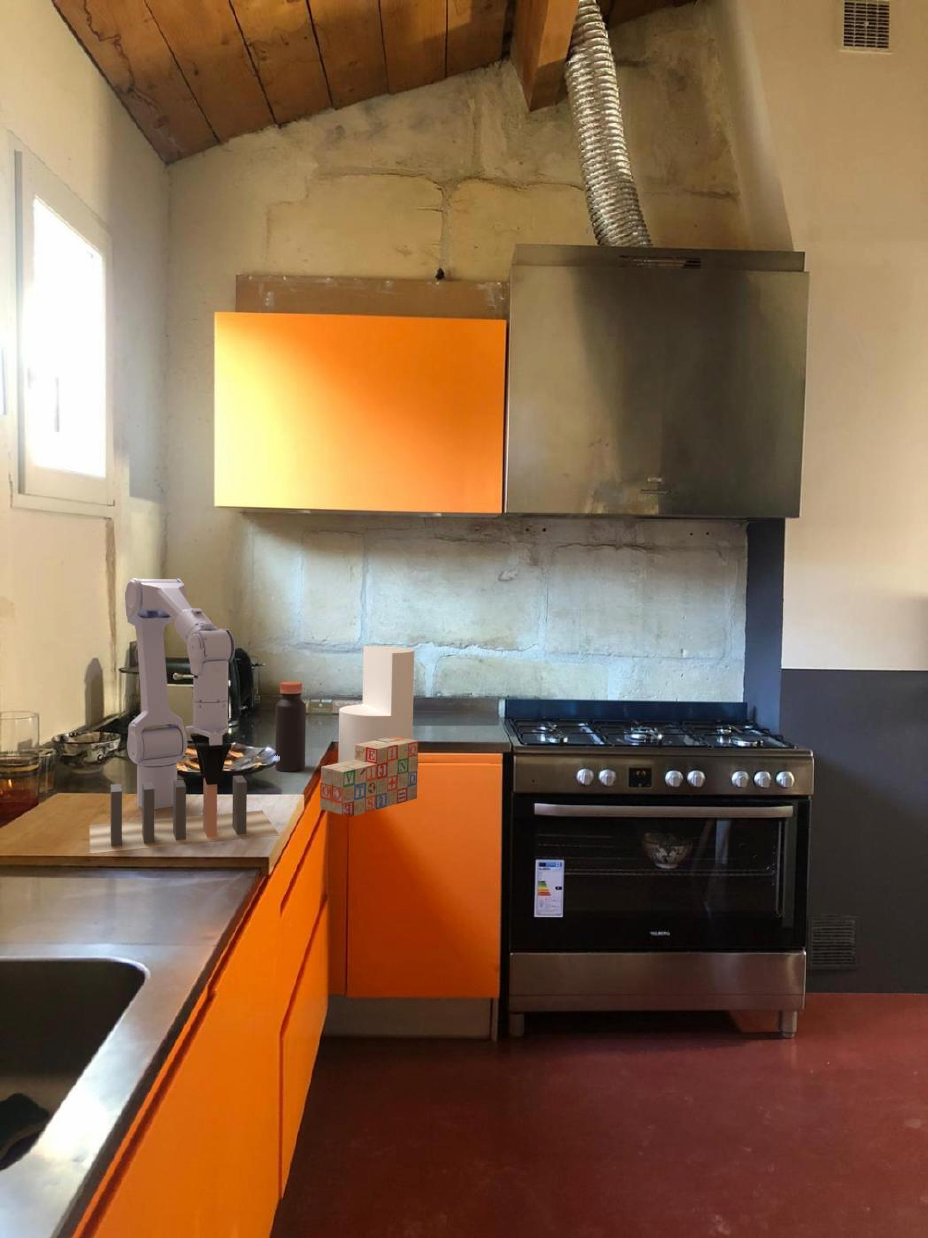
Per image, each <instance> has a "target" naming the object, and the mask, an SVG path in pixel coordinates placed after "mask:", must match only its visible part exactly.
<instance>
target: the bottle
mask: <svg viewBox="0 0 928 1238" xmlns="http://www.w3.org/2000/svg"><path fill="white" fill-rule="evenodd" d="M279 687H280V689H279V690H280V691H279V692H280V695H281V699H280V700H279V701H278V702H277V703H276V704H275V749H274V750H275V753H276V756H277V755H278V756H280V761H279V762H278V763H277V764H276V765H275V764H274V767H275V769H276V770H277V771H279V772H288V773H291V772H300V771H302V770H304V769H305V768H306V736H307V735H306V734H307V733H306V732H307V731H306V729H307V728H306V726H307V725H306V724H307V723H306V722H307V721H306V720H307V704H306V703H305V702H304V700H302V699H301V697H302V694H303V682H300V681H283V682H280V686H279ZM275 753H274V754H275Z"/></svg>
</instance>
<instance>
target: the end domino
mask: <svg viewBox="0 0 928 1238" xmlns="http://www.w3.org/2000/svg"><path fill="white" fill-rule="evenodd" d="M247 795H248V782H247V780H246V778H244V776H243V775H233V776H232V813H233V816H232V827H233V828H234V830H235V832H236V834H237V835H238V834H246V820H247V812H248V811H247V807H248V806H247V802H248V801H247V800H248V799H247V798H248V796H247Z"/></svg>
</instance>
